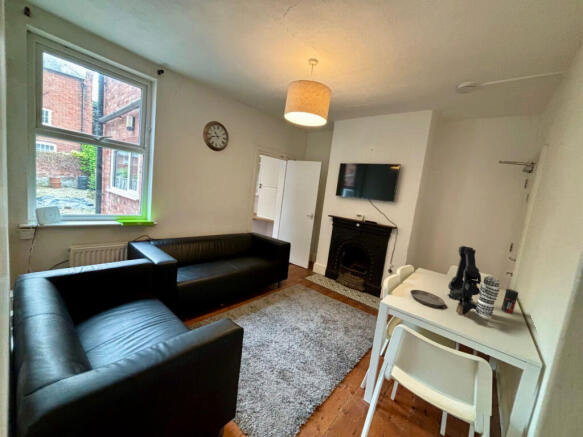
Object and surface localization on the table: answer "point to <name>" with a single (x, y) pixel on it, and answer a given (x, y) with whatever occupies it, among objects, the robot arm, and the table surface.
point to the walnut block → (461, 310)
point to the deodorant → (509, 301)
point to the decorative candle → (487, 297)
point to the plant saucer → (427, 298)
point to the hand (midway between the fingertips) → (462, 312)
